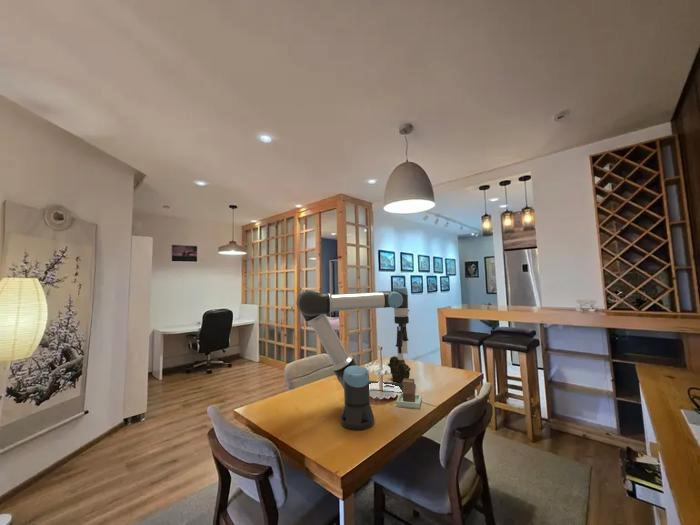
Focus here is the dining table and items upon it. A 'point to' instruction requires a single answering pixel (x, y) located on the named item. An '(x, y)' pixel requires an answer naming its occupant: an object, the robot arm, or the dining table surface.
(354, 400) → the robot arm
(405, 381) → the block
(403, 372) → the rock
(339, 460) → the dining table surface
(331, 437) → the dining table surface
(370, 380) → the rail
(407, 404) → the tray
